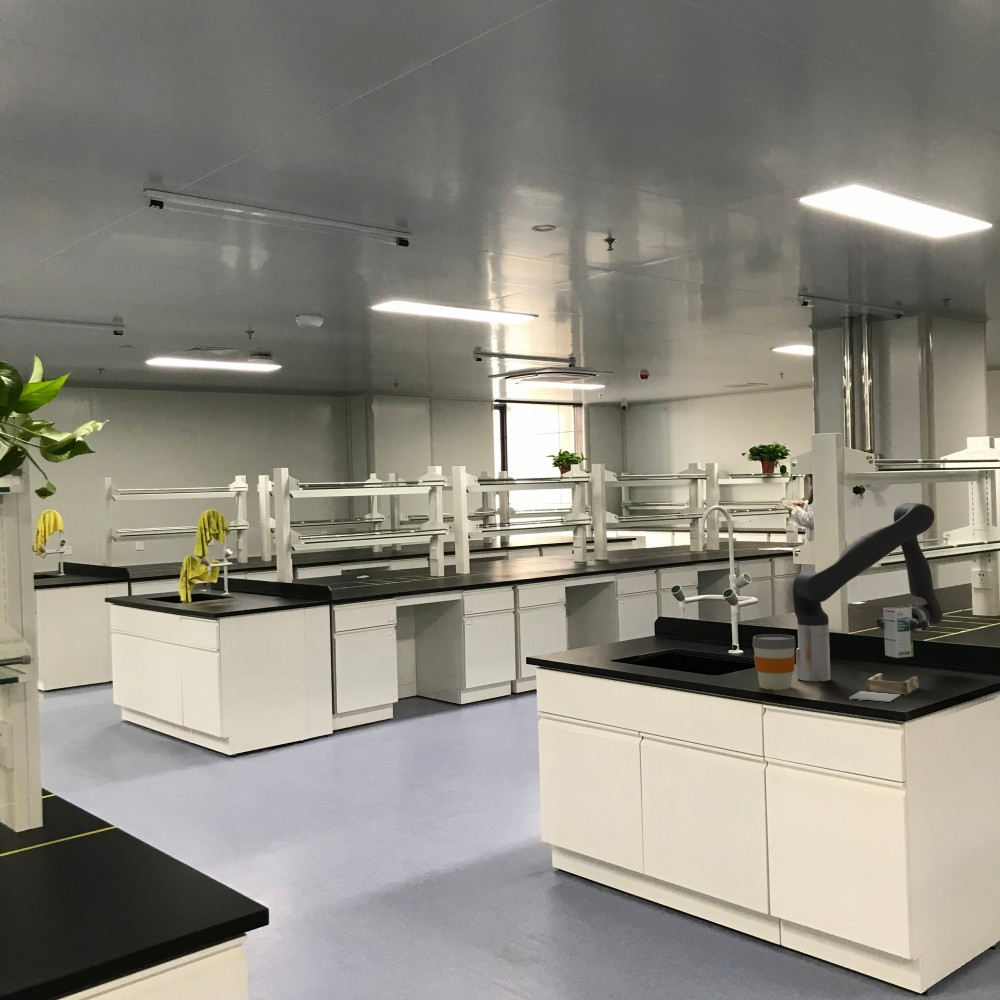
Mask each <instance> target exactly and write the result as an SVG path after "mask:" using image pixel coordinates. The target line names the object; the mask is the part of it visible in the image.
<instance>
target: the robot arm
mask: <svg viewBox="0 0 1000 1000" xmlns="http://www.w3.org/2000/svg"><path fill="white" fill-rule="evenodd" d="M934 520H935V512H934V510H933V509H932V507H930V506H929V505H926V504H924V503H919V502H918V503H917V502H916V503H915V502H907V503H901V504H899V505H898V506H896V508H895V509H894V512H893V523H890V524H888V525H885V526H883V527H880V528H877V529H875V530H872V531H869V532H867V533H865V534H863V535H861V536H860V537H859V538H856V539H855V540H854V541H852V542H851V543H849V544H848V546H846V547H845V548H844V550H843V551H842V553H841V555H840V556H839V558H838V559H837V560H836V561H835V562H834V563H832V564H831V565H829V566H828V567H826V568H824V569H823V570H821V571H818V572H816V571H814V572H813V571H803V572H800V573H798V574H797V576H795V578H794V580H793V583H792V584H793V585H792V597H793V599H792V600H793V608H794V614H795V616H796V621H797V642H798V643H797V646H798V647H796V649H795V664H796V680H799V679H800V680H801V681H804V682H814V683H815V682H816V683H817V682H819V681H821V682H828V680H829V681H830V680H831V659H830V658H831V657H830V656H831V655H830V654H831V652H830V651H831V650H830V629H829V627H830V625H829V622H830V621H829V616H828V614H827V613H826V612H825V611H824V609H823V606H822V603H823V602H825V601H827V600H829V598H831V597H832V596H833V595H834V594H835V593H836V592H838V591H839V590H840V589H841V588H842V587H844V585H846V584H847V583H848V582H850V581H851V580H854V578H856V577H857V576H859V575H860V574H862V573H864V572H865V571H866V570H868V569H870V568H871V567H872V566H874V565H875V564H877V563H878V562H880V561H881V560H882V559H884V558H885V557H886V556H888V555H889V554H891V553H892V552H893V551H895V550H896V549H898V548H899V547H901V550H902V553H903V557H904V561H905V566H906V573H907V579H908V581H907V582H908V589H909V592H910V595H911V596H913V597H916V598H921V599H923V600H925V602H920V603H919V602H916V603H910V604H908V606H907V607H909V608H911V609H912V623H910V631H912V632H913V634H915V633H916V632H919V631H920V630H922V631H925V630H928V629H930V626H936V625H939V624H941V622H942V621H943V617H944V614H943V610H942V608H941V605H940V603H939V601H938V598H937V596H936V592H935V589H934V585H933V576H932V570H931V566H930V564H929V562H928V560H927V558H926V556H925V554H924V553H923V551H922V548H921V546H920V543H919V541H918V536H920V535H922V534H923V533H925V532H927V531H928V530H929V529H930V528H931V527H932V525H933V524H934ZM876 628H878V629H879V628H880V630H884V616H883V617H879V618H877V619H876Z"/></svg>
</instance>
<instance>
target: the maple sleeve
mask: <svg viewBox="0 0 1000 1000" xmlns="http://www.w3.org/2000/svg"><path fill="white" fill-rule="evenodd" d="M883 675H884V673H880V672H879V673H876V674H874V675H873V676H870V677H869V678H867V679H866V680H865V681H866V684H865V687H866V692H867V691H874V692H888V693H889V692H890V693H898V694H908V693H910V692H911V691H913V690H914V689H916V688H918V689H919V676H918V675H913V676H911V677H909V678H908V679H906V680H904V681H893V680H891V681H890V680H884V679H883ZM916 690H917V689H916ZM914 691H915V690H914ZM914 691H913V692H914ZM911 693H912V692H911ZM911 693H910V694H911ZM908 695H909V694H908Z"/></svg>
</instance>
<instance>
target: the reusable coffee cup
mask: <svg viewBox="0 0 1000 1000" xmlns="http://www.w3.org/2000/svg"><path fill="white" fill-rule="evenodd" d="M752 647H753V652H754V655H753V661H754V665H755V666H754V667H755V671H756V672H757V675H758V676H757V677H758V683H759V688H760V687H761V689H763V688H764V689H765V690H769V689H773V690H772V691H774V690H775V691H783V689H784V690H789V689H791V687H792V679H793V672H794V671H795V664H796V655H795V650H796V649H795V648H797V647H796V638H795V636H793V635H789V634H775V633H774V634H773V633H771V634H768V633H767V634H757V635H753V637H752ZM764 689H763V690H764Z"/></svg>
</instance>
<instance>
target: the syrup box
mask: <svg viewBox="0 0 1000 1000" xmlns="http://www.w3.org/2000/svg"><path fill="white" fill-rule="evenodd" d="M882 609H883V611H882V612H883V617H884V629H883V632H884V635H883V637H884V651H885V652H884V655H885V656H887V657H889V658H890V657H891V658H894V659H895V658H896V659H899V658H909V657H910V658H911V657H914V637H913V636H914V635H913V634H914V633H913V632H912V631H910V623H912V609H911V608H909V607H908V606H901V605H900V606H891V607H883V608H882Z"/></svg>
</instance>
